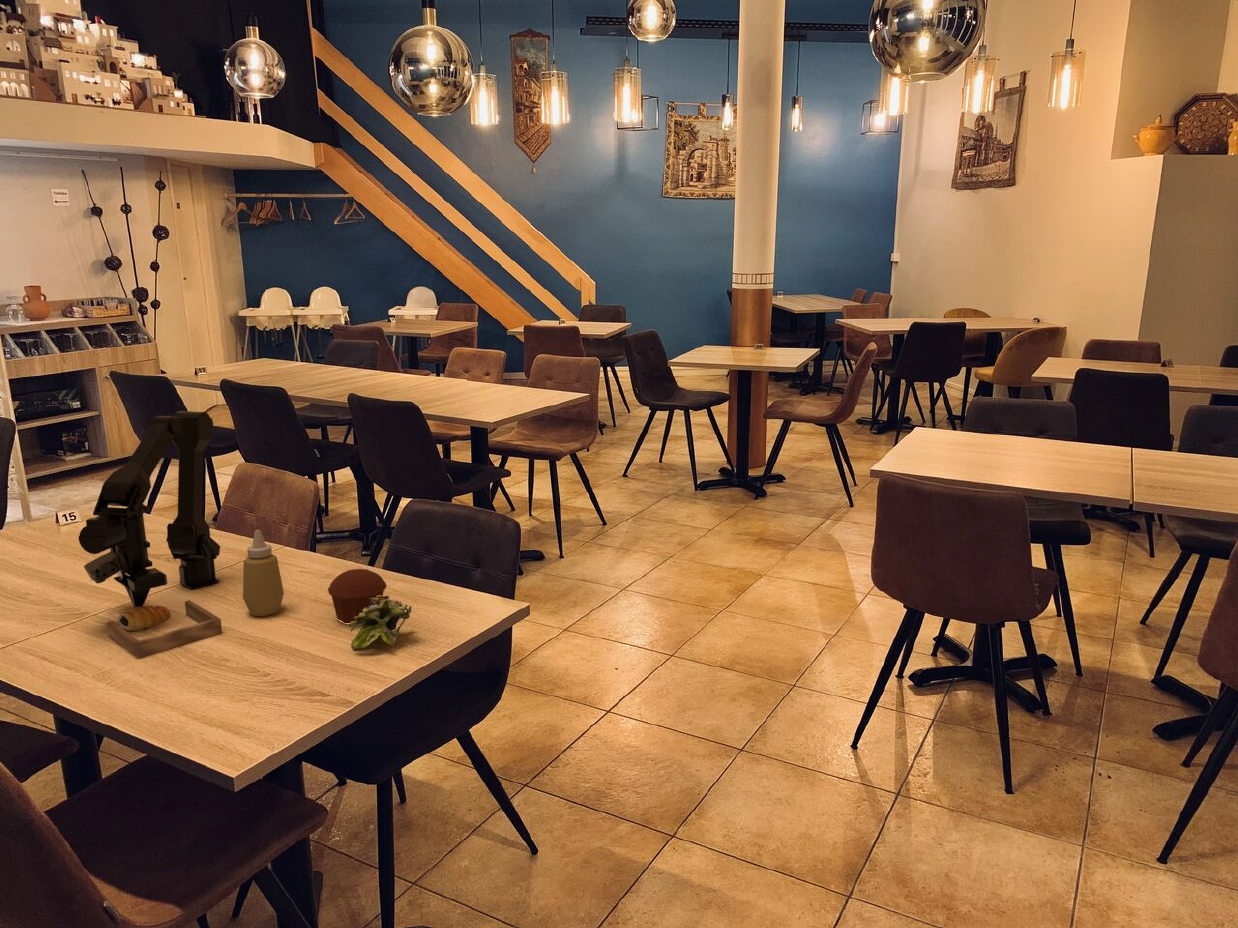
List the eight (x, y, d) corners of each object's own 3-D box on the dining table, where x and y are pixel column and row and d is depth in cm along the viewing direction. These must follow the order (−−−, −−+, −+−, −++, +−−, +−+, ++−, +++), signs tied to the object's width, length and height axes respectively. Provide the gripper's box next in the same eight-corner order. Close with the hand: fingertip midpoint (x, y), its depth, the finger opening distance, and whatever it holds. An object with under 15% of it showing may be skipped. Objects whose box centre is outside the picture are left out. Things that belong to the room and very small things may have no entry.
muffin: (390, 605, 194) (387, 561, 192) (386, 625, 183) (383, 579, 181) (333, 608, 192) (330, 564, 190) (326, 629, 181) (322, 583, 179)
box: (190, 613, 189) (189, 599, 188) (222, 632, 179) (220, 618, 179) (108, 636, 177) (106, 622, 177) (137, 658, 168) (135, 643, 167)
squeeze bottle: (293, 608, 192) (287, 527, 188) (264, 622, 185) (257, 538, 181) (265, 602, 195) (258, 522, 191) (235, 615, 188) (227, 533, 184)
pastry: (160, 612, 190) (158, 595, 189) (177, 620, 186) (175, 603, 185) (115, 627, 182) (112, 609, 182) (132, 635, 179) (130, 617, 178)
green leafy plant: (382, 661, 180) (407, 605, 183) (405, 671, 171) (431, 612, 174) (332, 642, 174) (359, 584, 177) (354, 651, 165) (382, 590, 168)
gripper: (70, 536, 183) (80, 608, 187) (103, 558, 171) (112, 634, 174) (128, 525, 191) (137, 594, 195) (164, 545, 179) (172, 618, 182)
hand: (138, 609), depth 186 cm, fingers closed
